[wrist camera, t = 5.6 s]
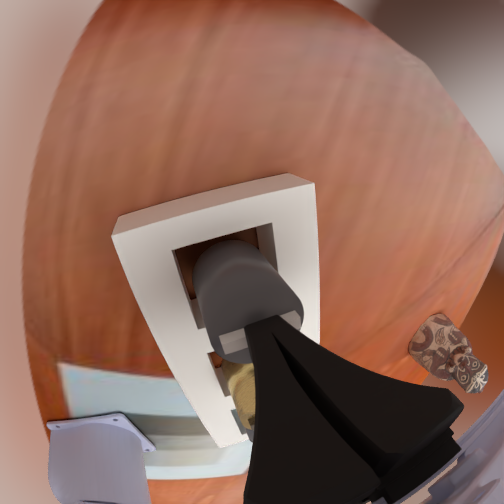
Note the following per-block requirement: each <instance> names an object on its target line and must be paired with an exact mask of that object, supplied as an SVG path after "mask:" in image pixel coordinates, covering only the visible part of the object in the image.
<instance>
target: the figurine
mask: <svg viewBox="0 0 504 504" xmlns="http://www.w3.org/2000/svg"><path fill="white" fill-rule="evenodd" d="M409 353H410V355H411V356H412V357H413V358H414V360H415V361H416V362H418V363H419V364H420V365H421V366H422V367H424V368H425V369H426V370H427V371H428V372H430V373H431V374H433V375H434V376H436V377H437V378H439V379H441V380H446V381H448V380H452V379H455V380H456V381H457V382H458V384H459V385H460V386H461V387H462V388H463V389H464V390H465V392H466V393H477V392H478V393H481V392H482V391H483V389H484V385H485V384H486V383H487V381H488V370H487V365H486V364H484V363H483V362H481V361H480V360H479V359H478V358H476V357H475V356H474V355H472V347H471V344H470V342H469V340H468V339H467V337H466V336H465V335H463V333H462V332H461V331H460V330H459V329H458V328H457V327H456V326H455V325H454V324H453V323H452V321H451V320H450V319H449V318H448V317H447V316H445V315H444V314H439V313H438V314H436V315H432V316H430V317H429V318H428V319H427V320H426V321H425V322H424V323H423V324H422V325H421V326H420V328H419V329H418V331H417V332H416V334H415V335H414V337H413V338H412V340H411V342H410V344H409Z"/></svg>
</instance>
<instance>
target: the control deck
mask: <svg viewBox="0 0 504 504" xmlns="http://www.w3.org/2000/svg"><path fill="white" fill-rule="evenodd" d="M253 227H256V231H257V238H258V244H259V251H260V252H261V253H262V254H263V256H264V257H265V258H266V259H267V260H268V262H269V263H270V264H271V265H272V266H273V268H274V269H275V270H276V271H277V272H278V274H279V275H280V276H281V277H282V278H283V279H284V281H285V282H286V283H287V284H288V285H289V287H290V288H291V289H292V290H293V291H294V293H295V294H296V295H297V296H298V298H299V299H300V300H301V302H302V305H303V309H304V319H303V324H302V327H301V329H300V332H301V333H303V334H304V335H305V336H307V337H308V338H310V339H311V340H313V341H314V342H316V343H318V344H319V345H320V286H319V251H318V230H317V212H316V198H315V185H314V183H313V182H311V181H308V180H306V179H303V178H301V177H298V176H295V175H293V174H290V173H286V174H281V175H276V176H271V177H266V178H262V179H257V180H252V181H248V182H244V183H239V184H235V185H231V186H226V187H222V188H218V189H214V190H210V191H206V192H202V193H198V194H195V195H191V196H187V197H183V198H180V199H176V200H172V201H169V202H165V203H162V204H158V205H155V206H151V207H148V208H144V209H141V210H138V211H135V212H131V213H128V214H125V215H122V216H119V217H118V219H117V222H116V224H115V227H114V230H113V232H112V235H111V237H112V240H113V243H114V246H115V248H116V251H117V254H118V256H119V259H120V262H121V264H122V267H123V269H124V272H125V274H126V277H127V279H128V282H129V284H130V286H131V289H132V291H133V294H134V296H135V298H136V300H137V303H138V305H139V307H140V309H141V312H142V314H143V316H144V318H145V320H146V322H147V324H148V326H149V329H150V331H151V333H152V335H153V337H154V339H155V341H156V343H157V345H158V347H159V349H160V351H161V352H162V354H163V356H164V358H165V360H166V362H167V364H168V366H169V367H170V369H171V371H172V373H173V375H174V377H175V378H176V380H177V382H178V384H179V385H180V387H181V389H182V390H183V392H184V394H185V396H186V397H187V399H188V401H189V402H190V404H191V405H192V407H193V409H194V410H195V412H196V413H197V415H198V417H199V418H200V420H201V421H202V423H203V424H204V426H205V427H206V429H207V430H208V432H209V433H210V435H211V436H212V438H213V439H214V441H215V442H216V444H217V445H218V447H219V448H222V447H226V446H229V445H233V444H236V443H239V442H242V441H246V440H249V438H248V435H247V433H246V430H245V428H244V426H243V425H242V423H241V420H240V418H239V415H238V413H237V410H232V409H236V407H235V405H234V402H233V399H232V397H231V394H230V391H229V388H228V386H227V383H226V380H225V377H224V374H223V372H222V368H221V367H219V368H215V367H214V364H213V362H212V359H211V356H210V354H209V353H210V352H213V351H214V349H213V348H212V346H211V343H210V340H209V337H208V334H207V330H206V327H205V324H204V321H203V317H202V314H201V311H200V307H199V304H198V300H197V298H196V299H193V300H190V298H189V295H188V292H187V289H186V286H185V283H184V279H183V276H182V273H181V270H180V267H179V263H178V260H177V257H176V254H175V250H174V249H178V248H181V247H185V246H188V245H192V244H195V243H199V242H202V241H206V240H209V239H213V238H216V237H220V236H224V235H227V234H231V233H234V232H238V231H242V230H245V229H249V228H253Z"/></svg>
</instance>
